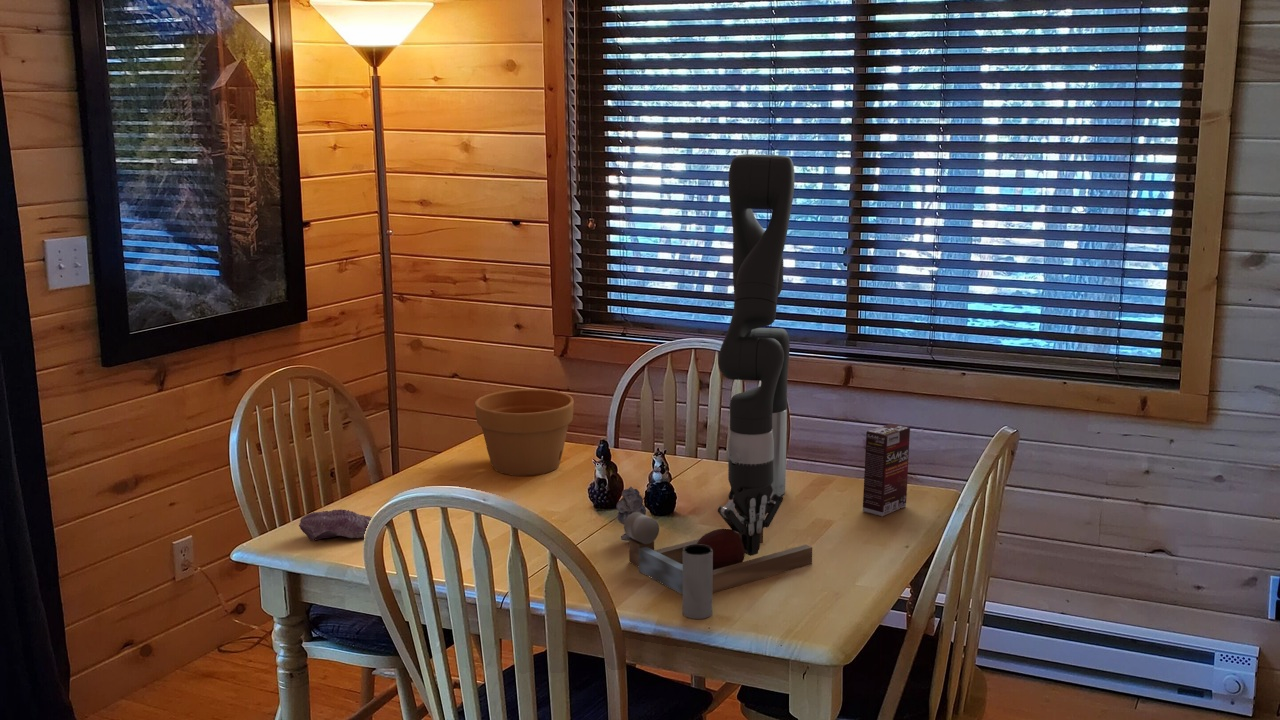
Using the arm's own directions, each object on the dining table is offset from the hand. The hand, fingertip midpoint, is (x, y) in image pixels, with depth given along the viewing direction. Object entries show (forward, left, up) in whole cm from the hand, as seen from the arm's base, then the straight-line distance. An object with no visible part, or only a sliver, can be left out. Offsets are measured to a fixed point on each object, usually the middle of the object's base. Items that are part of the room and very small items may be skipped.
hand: (750, 553), depth 202 cm
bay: (-3, -5, -1) cm, 6 cm away
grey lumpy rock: (-20, -10, -2) cm, 23 cm away
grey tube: (+12, -20, -2) cm, 24 cm away
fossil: (-52, -52, -2) cm, 74 cm away
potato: (0, -7, -2) cm, 7 cm away
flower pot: (-71, -3, -2) cm, 71 cm away
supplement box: (-6, +39, -2) cm, 39 cm away
